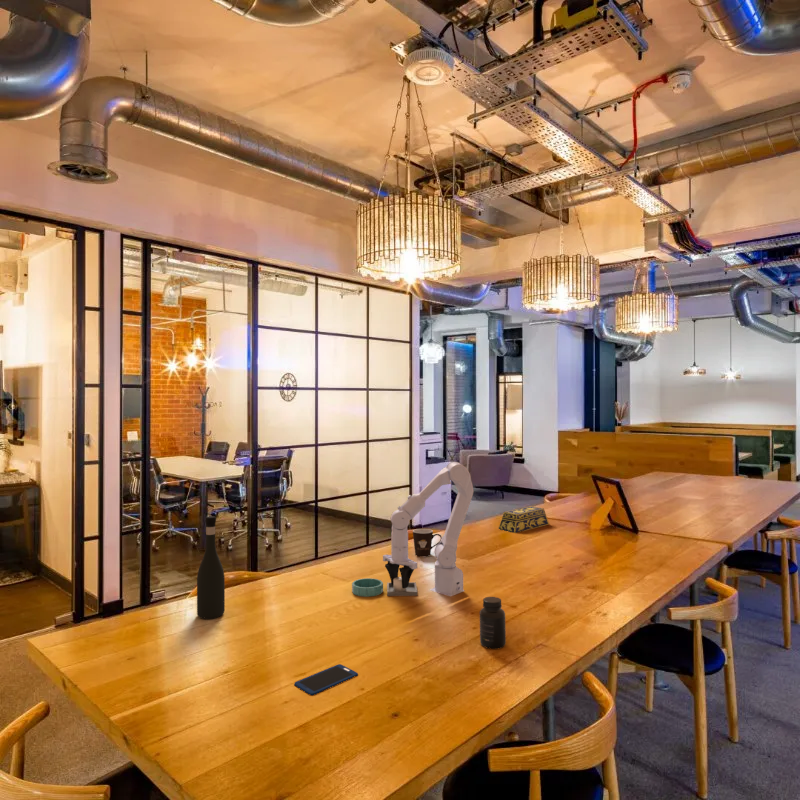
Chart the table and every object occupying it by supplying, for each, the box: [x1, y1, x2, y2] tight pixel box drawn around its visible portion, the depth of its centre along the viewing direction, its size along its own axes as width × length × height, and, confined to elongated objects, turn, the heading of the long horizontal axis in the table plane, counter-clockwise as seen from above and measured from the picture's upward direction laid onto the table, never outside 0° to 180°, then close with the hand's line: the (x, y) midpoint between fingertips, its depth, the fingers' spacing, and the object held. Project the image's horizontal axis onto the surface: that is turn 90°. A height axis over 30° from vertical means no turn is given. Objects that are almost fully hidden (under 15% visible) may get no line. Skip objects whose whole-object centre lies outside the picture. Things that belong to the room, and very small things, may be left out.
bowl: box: [351, 577, 384, 598], centre depth 194 cm, size 10×10×3 cm
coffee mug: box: [412, 528, 443, 557], centre depth 241 cm, size 12×9×10 cm
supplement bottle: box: [479, 596, 507, 650], centre depth 153 cm, size 7×7×12 cm
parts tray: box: [386, 581, 418, 597], centre depth 195 cm, size 10×10×2 cm
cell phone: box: [293, 663, 359, 696], centre depth 134 cm, size 7×14×1 cm, turn 135°
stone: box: [393, 576, 406, 592], centre depth 195 cm, size 4×4×4 cm
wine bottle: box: [196, 515, 226, 620], centre depth 174 cm, size 8×8×30 cm
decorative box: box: [498, 505, 550, 534], centre depth 295 cm, size 11×30×9 cm, turn 132°
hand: (399, 585), depth 195 cm, fingers open, 4 cm apart
